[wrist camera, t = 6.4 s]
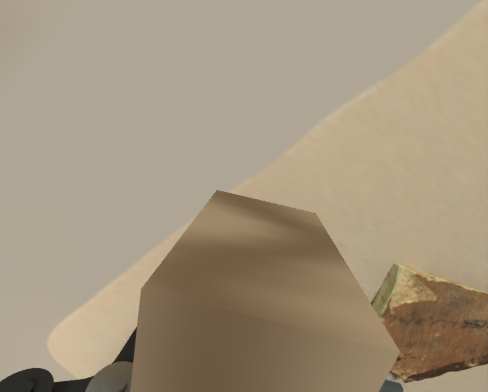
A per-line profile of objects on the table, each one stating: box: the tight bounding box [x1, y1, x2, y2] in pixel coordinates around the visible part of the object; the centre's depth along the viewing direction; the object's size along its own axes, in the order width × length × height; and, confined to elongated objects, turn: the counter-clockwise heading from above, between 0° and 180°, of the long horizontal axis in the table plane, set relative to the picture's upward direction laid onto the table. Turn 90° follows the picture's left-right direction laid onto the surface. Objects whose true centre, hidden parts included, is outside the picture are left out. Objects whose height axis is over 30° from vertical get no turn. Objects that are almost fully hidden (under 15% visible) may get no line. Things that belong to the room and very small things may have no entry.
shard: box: [372, 263, 488, 383], centre depth 14 cm, size 11×8×2 cm
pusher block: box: [130, 190, 400, 392], centre depth 8 cm, size 4×10×6 cm, turn 168°
